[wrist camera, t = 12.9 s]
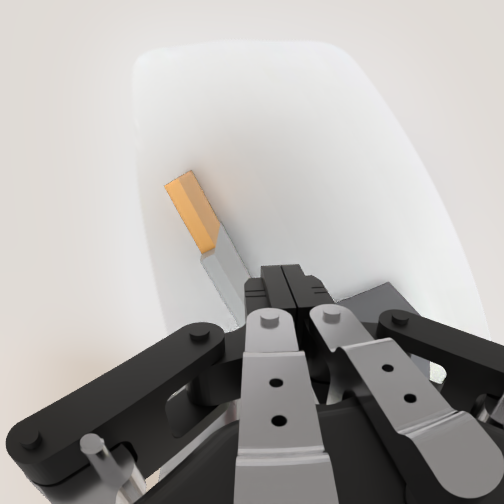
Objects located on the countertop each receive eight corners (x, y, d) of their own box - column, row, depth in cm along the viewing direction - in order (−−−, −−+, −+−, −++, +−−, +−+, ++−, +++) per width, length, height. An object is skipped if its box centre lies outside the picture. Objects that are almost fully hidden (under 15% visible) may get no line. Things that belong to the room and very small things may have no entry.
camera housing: (307, 390, 41) (322, 450, 31) (280, 322, 37) (294, 385, 27) (398, 355, 40) (431, 406, 30) (388, 282, 36) (432, 329, 26)
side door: (280, 330, 37) (291, 384, 28) (270, 334, 37) (280, 389, 28) (192, 169, 30) (173, 180, 21) (182, 174, 30) (159, 189, 21)
